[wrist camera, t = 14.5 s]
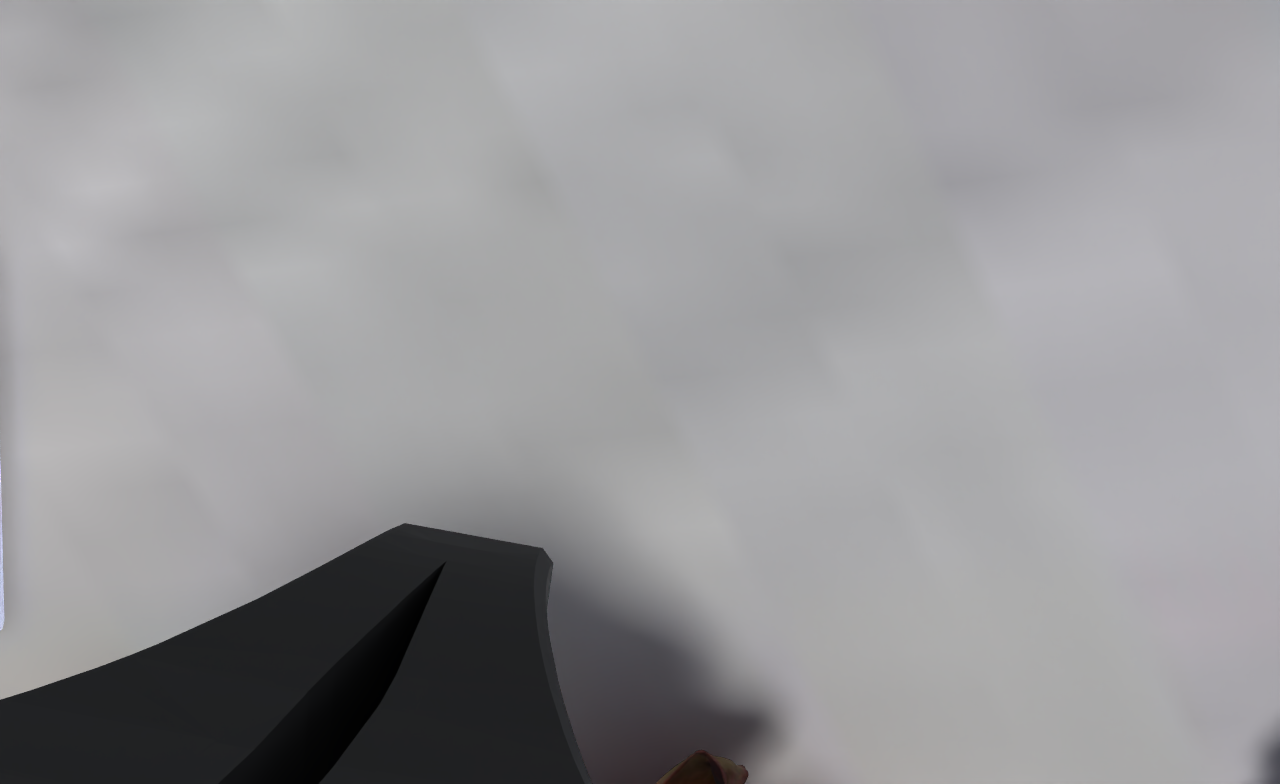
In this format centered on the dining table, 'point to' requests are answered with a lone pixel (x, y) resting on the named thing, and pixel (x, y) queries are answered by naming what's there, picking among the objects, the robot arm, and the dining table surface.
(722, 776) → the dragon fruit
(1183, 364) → the dining table surface
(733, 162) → the dining table surface
